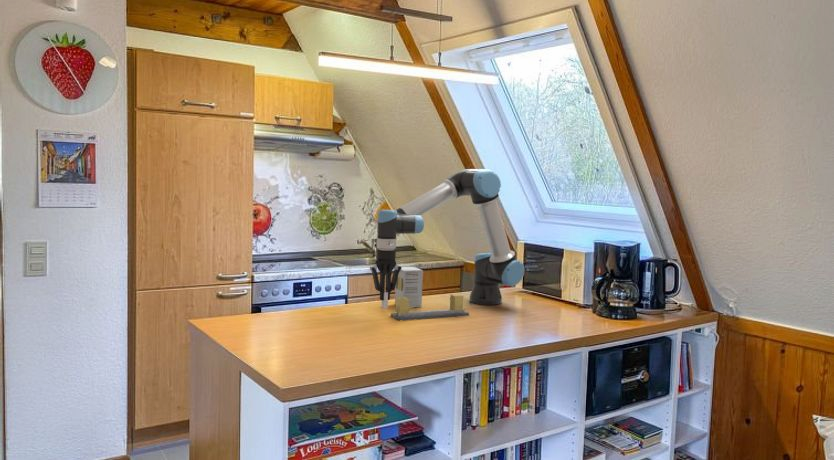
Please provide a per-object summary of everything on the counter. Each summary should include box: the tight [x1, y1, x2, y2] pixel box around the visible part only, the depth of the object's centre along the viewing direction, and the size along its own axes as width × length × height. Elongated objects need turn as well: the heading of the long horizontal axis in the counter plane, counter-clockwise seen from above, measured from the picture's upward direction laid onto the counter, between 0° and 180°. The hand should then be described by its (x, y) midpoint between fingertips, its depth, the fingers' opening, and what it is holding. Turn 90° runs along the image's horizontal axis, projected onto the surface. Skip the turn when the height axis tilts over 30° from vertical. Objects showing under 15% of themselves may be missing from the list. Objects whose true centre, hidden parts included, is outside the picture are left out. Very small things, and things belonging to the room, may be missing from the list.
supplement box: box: [394, 266, 424, 309], centre depth 279 cm, size 10×9×17 cm
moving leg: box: [395, 297, 410, 314], centre depth 256 cm, size 7×4×7 cm, turn 26°
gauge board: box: [390, 293, 470, 322], centre depth 262 cm, size 8×32×8 cm, turn 116°
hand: (384, 308), depth 251 cm, fingers closed
